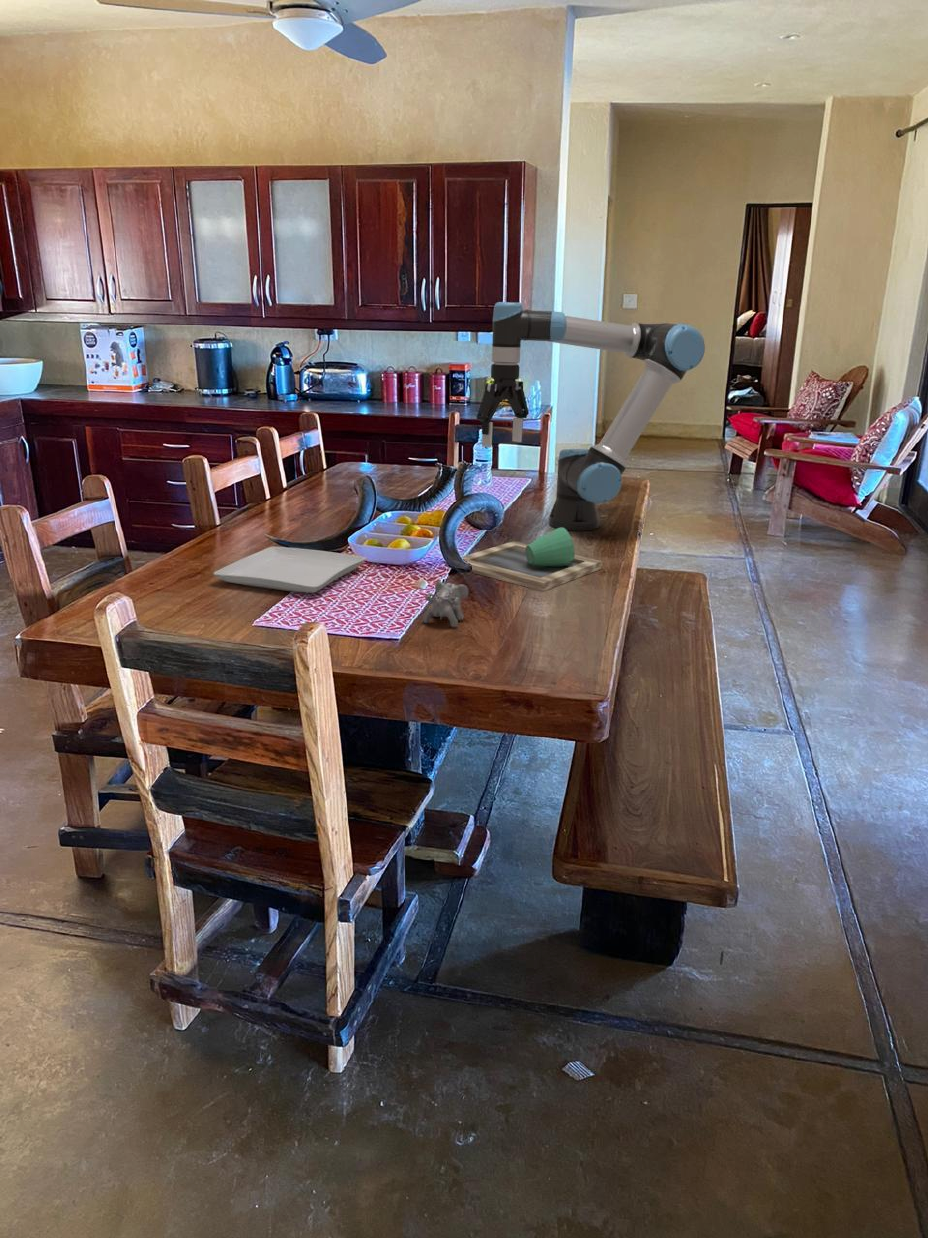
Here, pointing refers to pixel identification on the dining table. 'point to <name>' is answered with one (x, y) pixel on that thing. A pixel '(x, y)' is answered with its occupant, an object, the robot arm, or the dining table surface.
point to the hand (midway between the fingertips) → (502, 444)
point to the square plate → (290, 569)
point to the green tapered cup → (551, 549)
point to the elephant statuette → (446, 602)
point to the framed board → (526, 567)
